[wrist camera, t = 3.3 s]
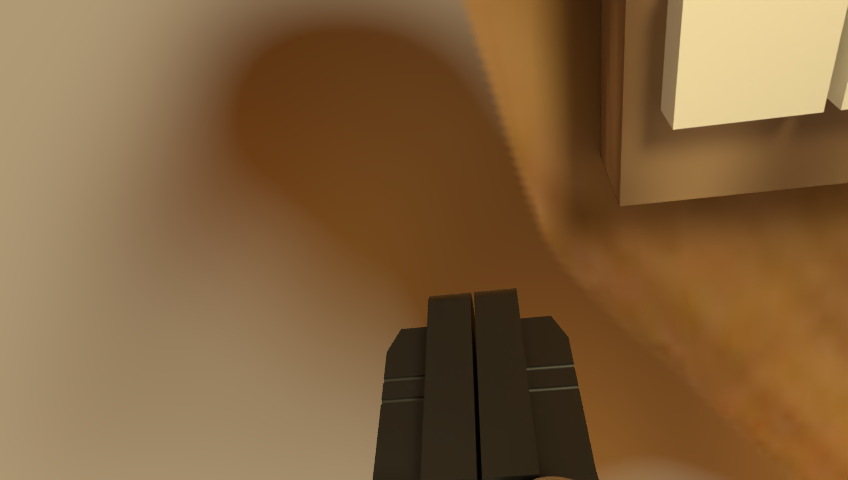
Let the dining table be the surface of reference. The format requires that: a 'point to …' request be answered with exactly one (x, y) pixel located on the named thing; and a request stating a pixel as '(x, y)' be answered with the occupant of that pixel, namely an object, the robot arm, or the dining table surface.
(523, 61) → the dining table surface
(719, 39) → the tile
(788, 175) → the board
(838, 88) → the tile
